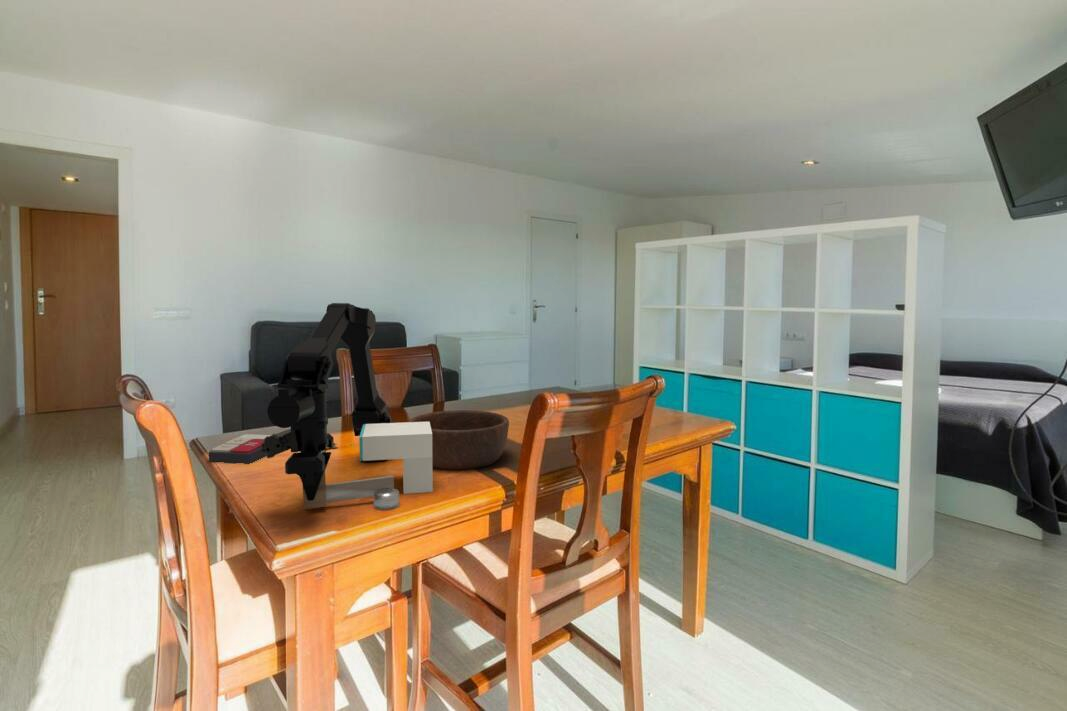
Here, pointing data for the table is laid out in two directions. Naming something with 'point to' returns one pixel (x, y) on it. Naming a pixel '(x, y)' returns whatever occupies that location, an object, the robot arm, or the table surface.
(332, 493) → the grey mallet
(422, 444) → the l-shaped block
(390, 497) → the steel puck
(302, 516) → the table surface
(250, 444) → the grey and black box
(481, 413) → the wooden bowl
